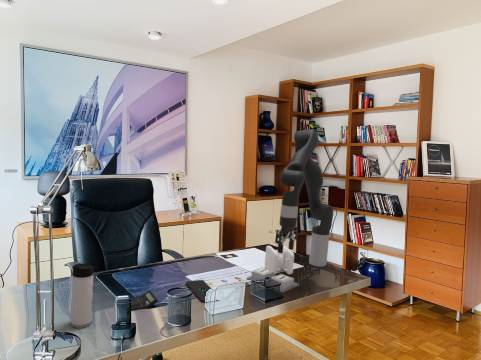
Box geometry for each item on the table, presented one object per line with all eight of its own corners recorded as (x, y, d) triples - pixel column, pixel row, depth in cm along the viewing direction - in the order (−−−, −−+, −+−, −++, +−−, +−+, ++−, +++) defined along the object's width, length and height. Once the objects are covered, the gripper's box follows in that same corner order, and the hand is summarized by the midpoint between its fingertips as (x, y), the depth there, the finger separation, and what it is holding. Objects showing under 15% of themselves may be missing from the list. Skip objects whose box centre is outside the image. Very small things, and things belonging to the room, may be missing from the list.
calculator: (120, 301, 141) (120, 293, 141) (150, 297, 147) (150, 289, 147) (126, 312, 133) (126, 304, 133) (157, 307, 139) (158, 299, 139)
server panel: (263, 273, 183) (264, 264, 183) (298, 285, 171) (299, 276, 170) (246, 279, 173) (247, 270, 173) (282, 292, 161) (283, 283, 160)
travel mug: (65, 324, 121) (67, 264, 119) (83, 317, 127) (85, 259, 125) (77, 330, 118) (79, 269, 116) (95, 323, 124) (97, 264, 122)
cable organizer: (263, 266, 194) (265, 244, 193) (282, 265, 197) (284, 244, 195) (273, 276, 179) (275, 253, 178) (293, 276, 182) (295, 253, 181)
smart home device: (201, 300, 145) (185, 281, 162) (201, 304, 145) (184, 285, 162) (221, 297, 148) (203, 279, 166) (220, 301, 148) (202, 283, 166)
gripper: (290, 212, 173) (287, 246, 175) (272, 215, 162) (269, 251, 164) (304, 215, 168) (301, 250, 170) (287, 218, 157) (283, 256, 159)
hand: (285, 251), depth 167 cm, fingers open, 8 cm apart
